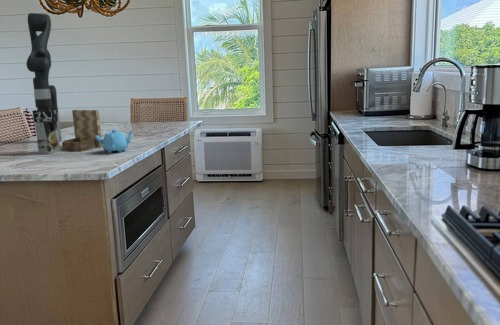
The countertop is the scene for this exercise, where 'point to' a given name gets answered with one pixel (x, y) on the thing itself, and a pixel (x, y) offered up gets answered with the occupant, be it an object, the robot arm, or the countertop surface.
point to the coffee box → (47, 138)
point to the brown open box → (78, 144)
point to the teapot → (115, 141)
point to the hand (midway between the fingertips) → (47, 130)
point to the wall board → (87, 125)
